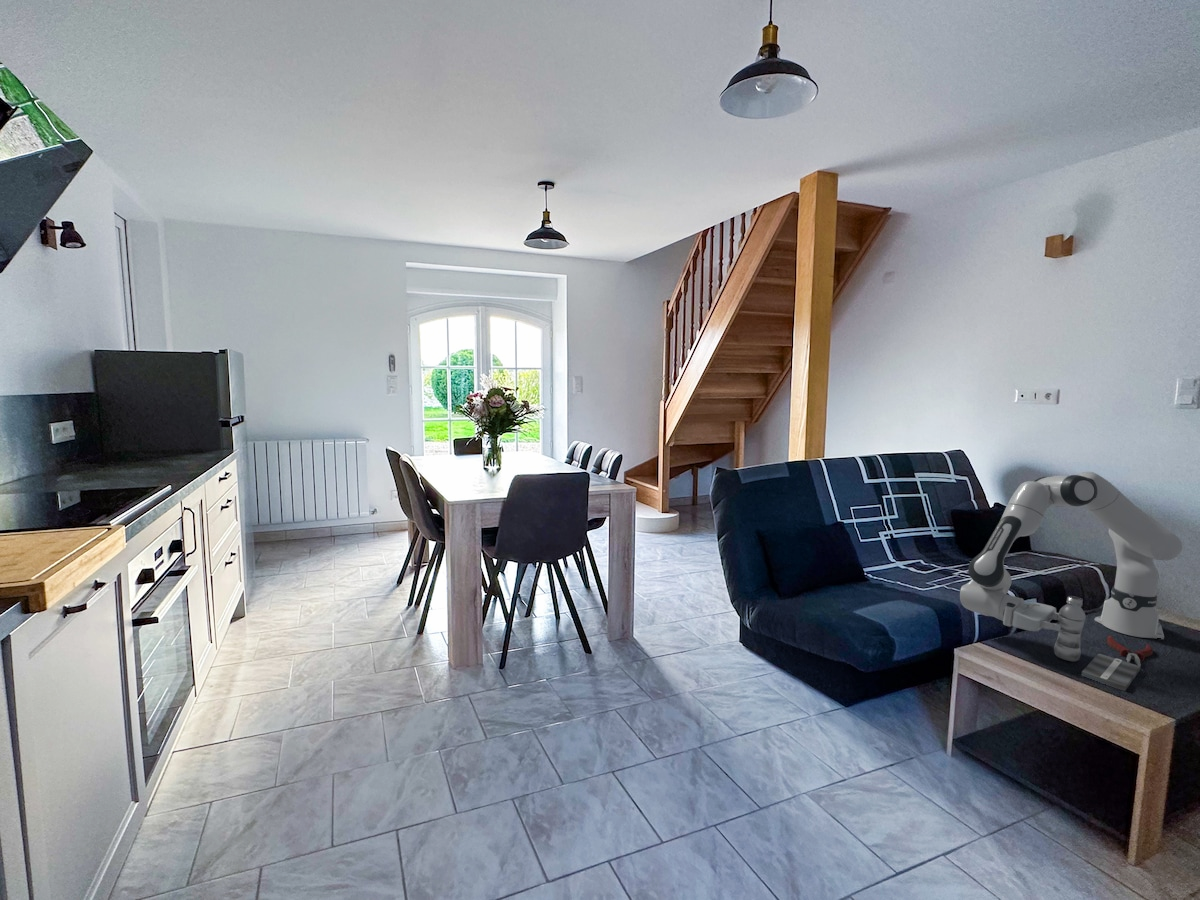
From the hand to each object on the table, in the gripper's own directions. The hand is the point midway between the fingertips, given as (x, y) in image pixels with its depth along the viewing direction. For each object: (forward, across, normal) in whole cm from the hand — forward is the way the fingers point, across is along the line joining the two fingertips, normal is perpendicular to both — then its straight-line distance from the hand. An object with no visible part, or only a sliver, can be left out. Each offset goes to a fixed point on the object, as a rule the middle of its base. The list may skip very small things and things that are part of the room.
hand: (1065, 624), depth 188 cm
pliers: (+12, -23, -12) cm, 28 cm away
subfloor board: (+12, 0, -11) cm, 17 cm away
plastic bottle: (+1, 0, -11) cm, 11 cm away
